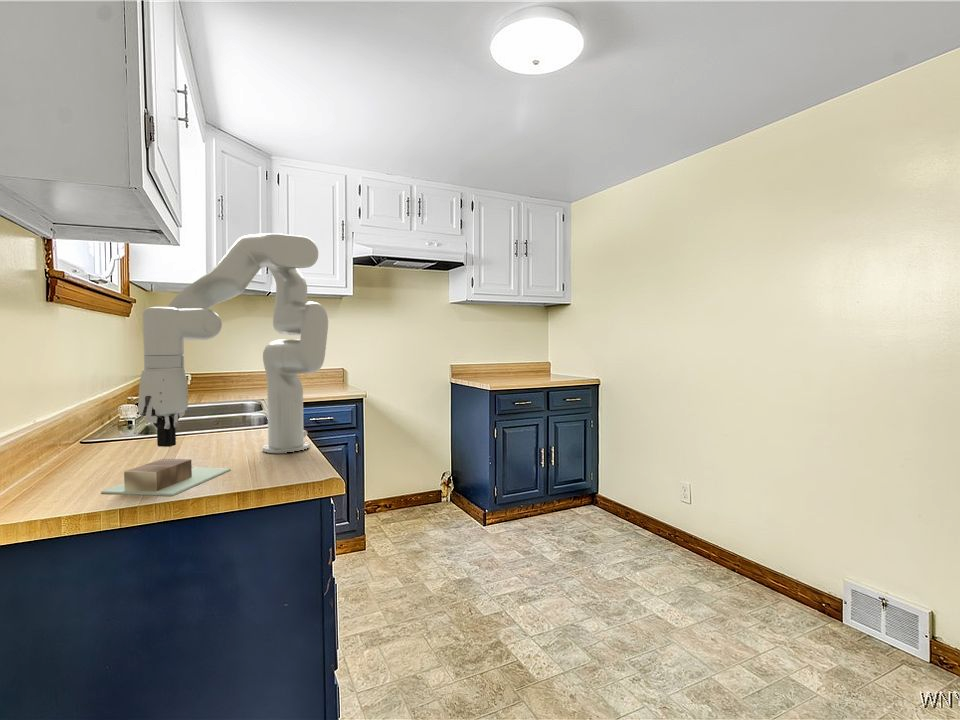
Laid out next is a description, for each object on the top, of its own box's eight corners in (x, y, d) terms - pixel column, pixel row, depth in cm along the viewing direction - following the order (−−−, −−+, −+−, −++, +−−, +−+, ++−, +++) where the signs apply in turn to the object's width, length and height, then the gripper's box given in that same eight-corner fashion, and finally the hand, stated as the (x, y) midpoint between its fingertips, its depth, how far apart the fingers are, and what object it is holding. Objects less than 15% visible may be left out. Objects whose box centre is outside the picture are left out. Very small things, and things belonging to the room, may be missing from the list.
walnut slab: (162, 458, 117) (124, 471, 106) (191, 459, 116) (155, 472, 105) (163, 475, 117) (124, 490, 106) (191, 476, 116) (155, 491, 105)
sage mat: (169, 468, 125) (169, 466, 125) (230, 470, 124) (230, 468, 124) (100, 493, 106) (100, 491, 106) (172, 495, 104) (172, 493, 104)
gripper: (172, 361, 120) (174, 438, 121) (121, 365, 105) (124, 453, 106) (202, 361, 120) (204, 439, 120) (155, 365, 105) (157, 454, 106)
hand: (166, 445), depth 113 cm, fingers closed
